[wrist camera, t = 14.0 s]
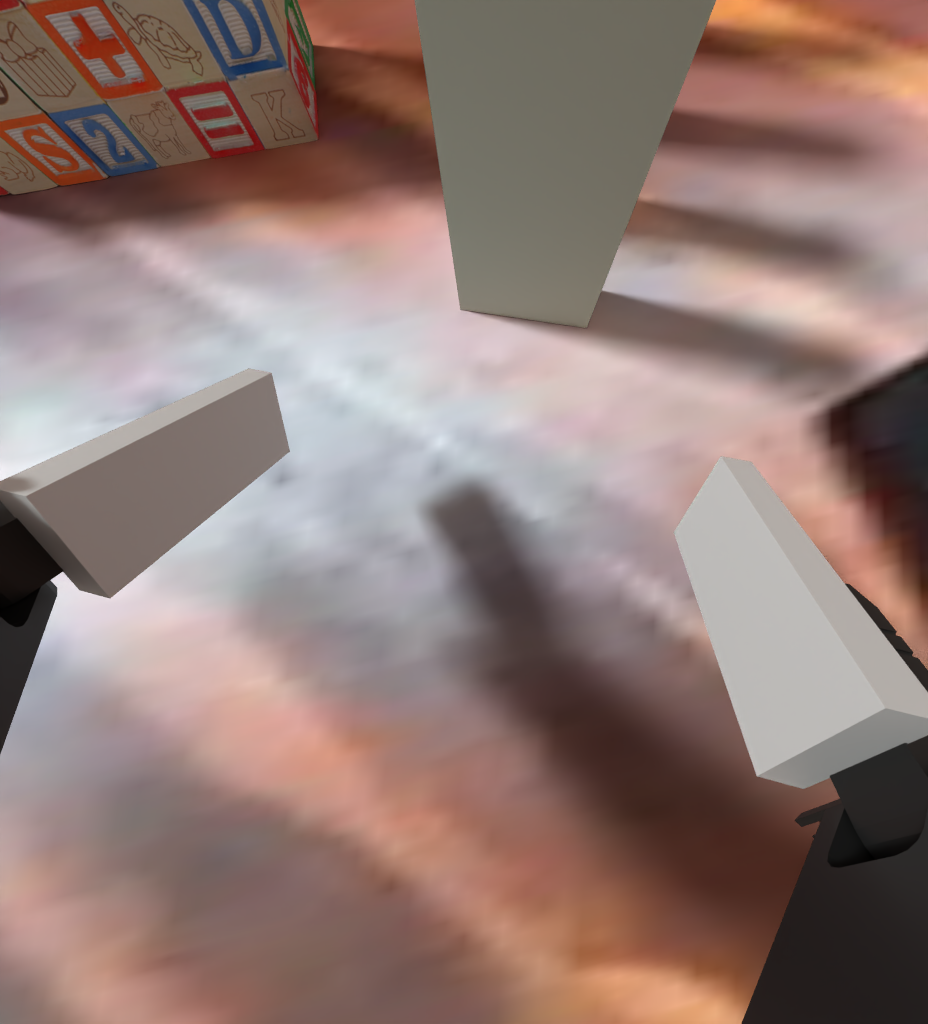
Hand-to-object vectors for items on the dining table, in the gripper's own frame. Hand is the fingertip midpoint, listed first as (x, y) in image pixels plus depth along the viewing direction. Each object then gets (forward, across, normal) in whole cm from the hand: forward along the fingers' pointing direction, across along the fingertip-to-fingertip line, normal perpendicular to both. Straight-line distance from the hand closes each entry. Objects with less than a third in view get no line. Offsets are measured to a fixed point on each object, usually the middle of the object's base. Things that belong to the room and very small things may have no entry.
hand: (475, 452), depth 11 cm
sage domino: (+10, 0, +3) cm, 11 cm away
